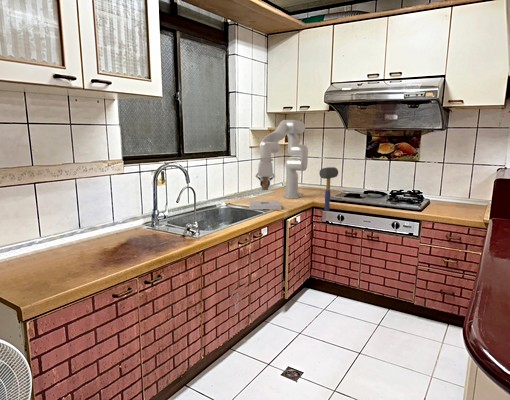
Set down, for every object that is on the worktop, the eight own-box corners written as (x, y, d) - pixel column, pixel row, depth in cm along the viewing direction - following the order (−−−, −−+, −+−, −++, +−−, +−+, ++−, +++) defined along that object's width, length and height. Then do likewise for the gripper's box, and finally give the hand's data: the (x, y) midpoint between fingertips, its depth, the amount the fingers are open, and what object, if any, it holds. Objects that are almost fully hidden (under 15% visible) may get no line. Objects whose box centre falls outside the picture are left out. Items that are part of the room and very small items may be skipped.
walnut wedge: (267, 189, 254) (267, 176, 253) (268, 190, 251) (268, 177, 249) (261, 189, 254) (262, 176, 253) (262, 190, 250) (262, 177, 249)
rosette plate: (279, 205, 263) (279, 201, 262) (281, 209, 249) (281, 205, 248) (249, 205, 262) (249, 200, 261) (249, 209, 248) (249, 205, 247)
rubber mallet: (324, 213, 240) (327, 168, 234) (316, 211, 246) (318, 167, 240) (336, 210, 248) (339, 167, 242) (328, 208, 254) (330, 166, 248)
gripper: (277, 160, 253) (276, 186, 256) (253, 159, 252) (252, 185, 255) (278, 161, 245) (277, 187, 249) (253, 160, 245) (253, 187, 248)
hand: (265, 186), depth 252 cm, fingers closed on walnut wedge, 4 cm apart
